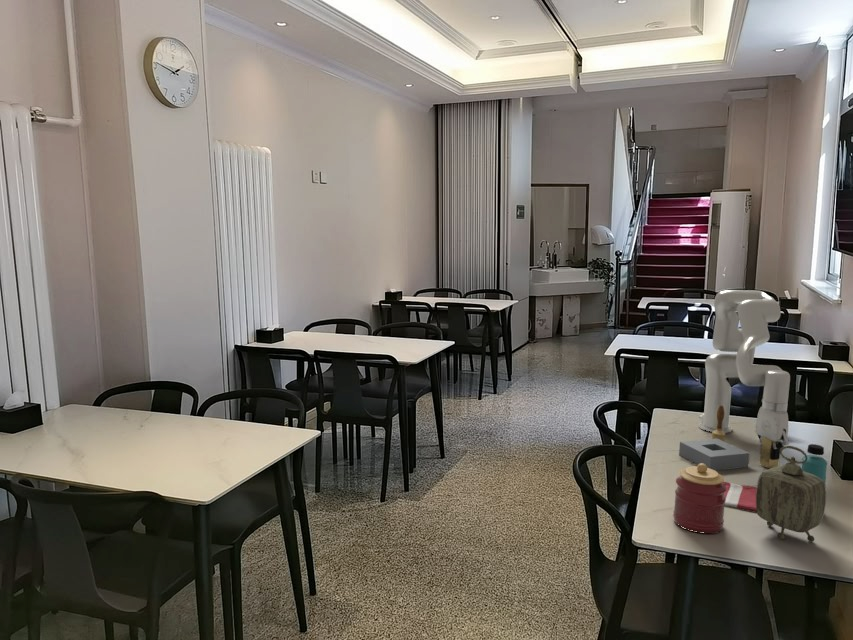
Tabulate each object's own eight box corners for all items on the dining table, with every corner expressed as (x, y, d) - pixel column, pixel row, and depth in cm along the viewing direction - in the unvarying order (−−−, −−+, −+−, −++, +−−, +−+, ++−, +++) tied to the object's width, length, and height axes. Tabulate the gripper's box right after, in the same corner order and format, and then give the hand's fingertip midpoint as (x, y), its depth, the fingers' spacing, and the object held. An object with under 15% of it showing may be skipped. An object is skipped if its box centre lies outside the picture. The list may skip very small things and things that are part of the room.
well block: (679, 454, 233) (680, 441, 232) (715, 451, 237) (716, 438, 237) (709, 470, 218) (710, 456, 217) (748, 466, 222) (749, 453, 222)
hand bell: (734, 447, 243) (737, 406, 240) (721, 451, 238) (725, 409, 236) (713, 441, 249) (716, 401, 247) (701, 444, 245) (704, 404, 242)
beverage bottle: (822, 518, 183) (830, 451, 180) (796, 512, 186) (802, 446, 184) (823, 509, 188) (830, 444, 186) (797, 504, 192) (803, 440, 189)
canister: (729, 537, 171) (734, 474, 168) (678, 532, 173) (682, 470, 170) (716, 516, 183) (720, 457, 181) (668, 512, 186) (672, 453, 183)
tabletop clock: (821, 542, 168) (831, 451, 165) (805, 552, 163) (814, 458, 160) (766, 522, 180) (774, 436, 176) (749, 530, 175) (757, 442, 171)
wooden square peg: (759, 463, 224) (762, 431, 222) (768, 462, 225) (772, 430, 223) (768, 468, 220) (771, 434, 218) (777, 467, 221) (781, 433, 219)
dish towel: (691, 480, 211) (691, 473, 210) (771, 496, 199) (772, 488, 198) (682, 498, 196) (682, 490, 196) (768, 517, 184) (769, 508, 184)
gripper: (747, 400, 226) (742, 449, 229) (785, 413, 210) (779, 466, 213) (764, 398, 228) (759, 447, 231) (803, 412, 212) (798, 464, 215)
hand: (769, 456), depth 222 cm, fingers closed on wooden square peg, 4 cm apart
